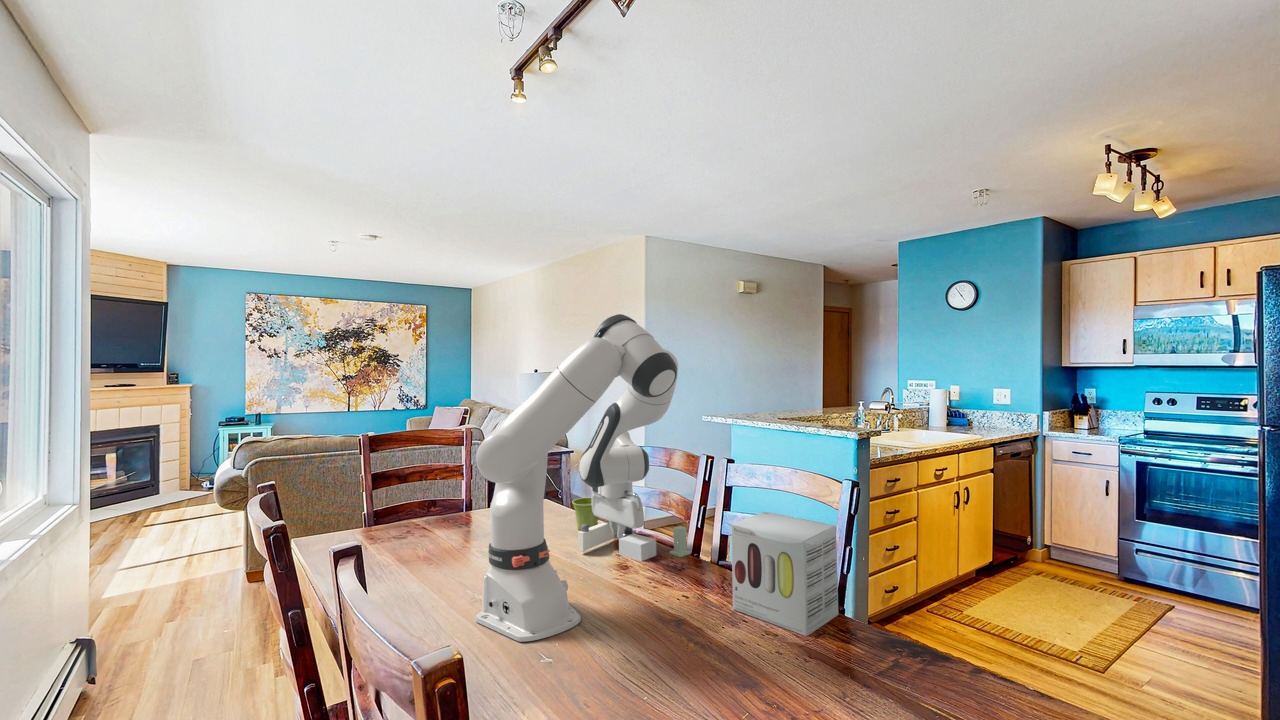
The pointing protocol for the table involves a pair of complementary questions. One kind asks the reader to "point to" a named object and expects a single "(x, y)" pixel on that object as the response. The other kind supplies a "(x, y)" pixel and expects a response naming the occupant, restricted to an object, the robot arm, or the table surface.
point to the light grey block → (637, 547)
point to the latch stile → (680, 542)
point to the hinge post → (628, 531)
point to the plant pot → (584, 512)
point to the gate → (594, 535)
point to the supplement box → (785, 571)
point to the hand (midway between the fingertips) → (617, 537)
